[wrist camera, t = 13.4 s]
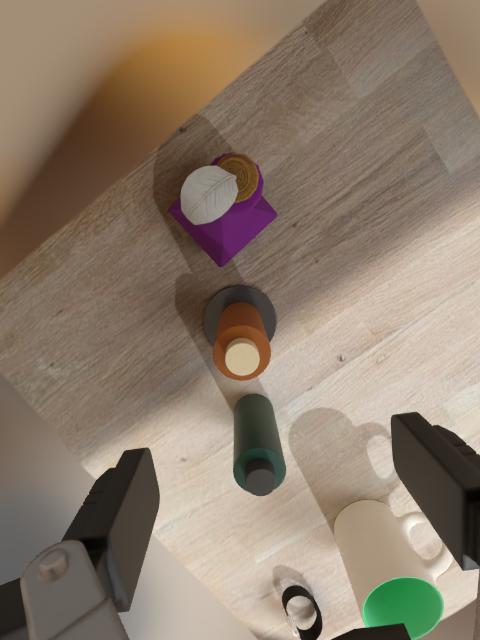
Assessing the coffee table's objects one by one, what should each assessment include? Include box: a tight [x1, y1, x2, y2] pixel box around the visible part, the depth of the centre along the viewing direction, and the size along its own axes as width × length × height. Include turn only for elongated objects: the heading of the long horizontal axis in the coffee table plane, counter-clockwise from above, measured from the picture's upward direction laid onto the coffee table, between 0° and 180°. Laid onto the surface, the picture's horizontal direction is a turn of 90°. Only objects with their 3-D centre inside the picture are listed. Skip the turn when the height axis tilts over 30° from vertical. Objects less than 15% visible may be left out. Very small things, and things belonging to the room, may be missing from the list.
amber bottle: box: [213, 302, 271, 380], centre depth 33 cm, size 5×5×12 cm
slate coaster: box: [204, 286, 277, 346], centre depth 39 cm, size 8×8×1 cm
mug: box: [334, 500, 453, 640], centre depth 40 cm, size 12×8×10 cm, turn 131°
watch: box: [282, 585, 322, 640], centre depth 46 cm, size 8×5×4 cm, turn 26°
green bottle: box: [233, 394, 286, 496], centre depth 35 cm, size 5×5×12 cm
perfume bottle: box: [168, 153, 277, 267], centre depth 28 cm, size 8×8×18 cm
